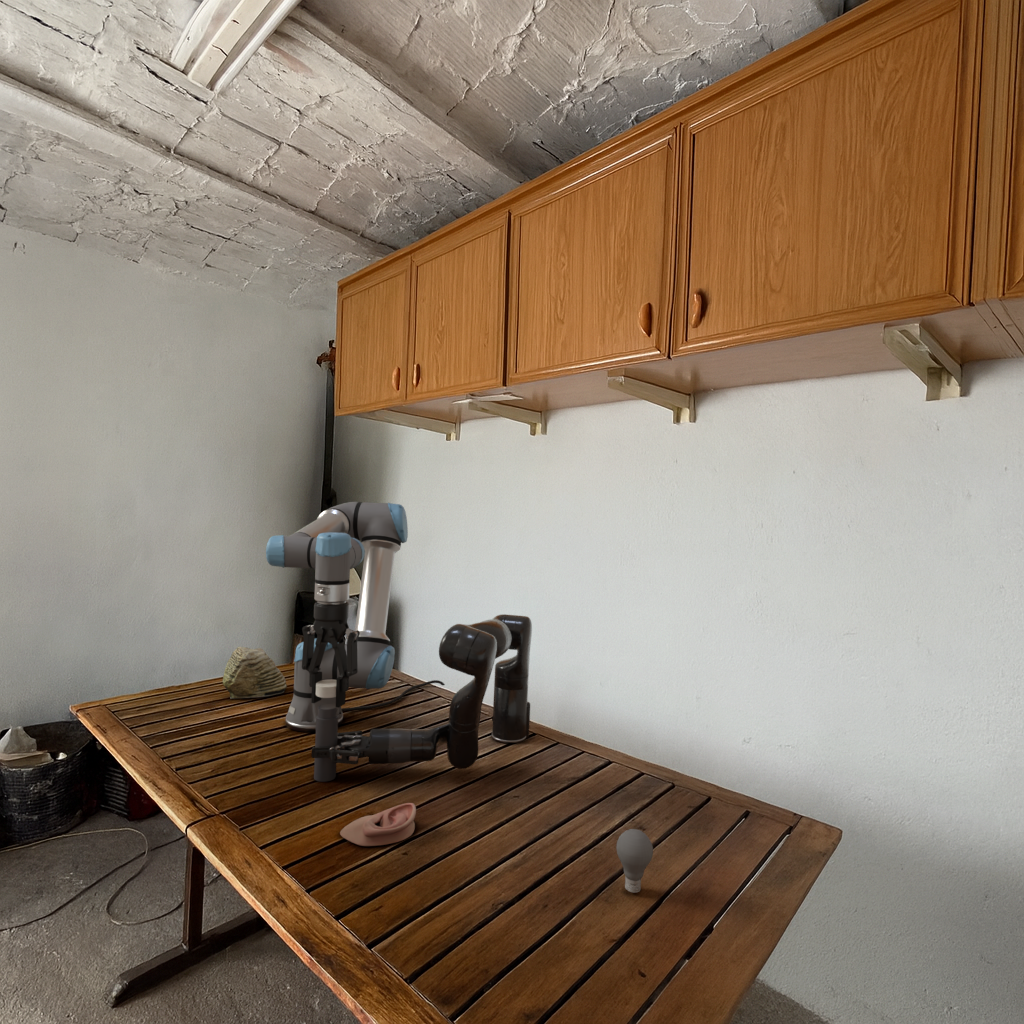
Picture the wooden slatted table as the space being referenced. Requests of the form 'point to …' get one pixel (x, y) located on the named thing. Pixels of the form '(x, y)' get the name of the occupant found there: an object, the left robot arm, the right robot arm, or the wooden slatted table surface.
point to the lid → (326, 688)
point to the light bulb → (634, 857)
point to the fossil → (252, 674)
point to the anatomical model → (382, 826)
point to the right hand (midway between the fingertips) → (314, 747)
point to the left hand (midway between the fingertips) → (328, 703)
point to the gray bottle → (326, 741)
